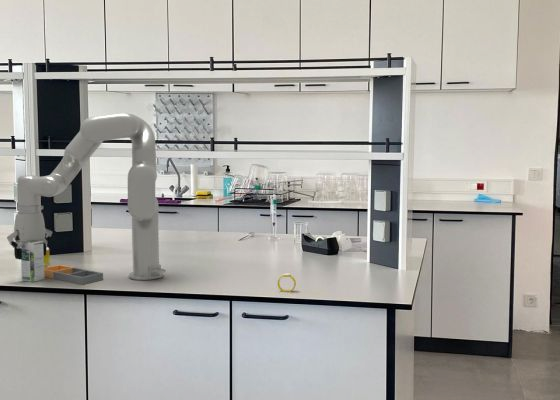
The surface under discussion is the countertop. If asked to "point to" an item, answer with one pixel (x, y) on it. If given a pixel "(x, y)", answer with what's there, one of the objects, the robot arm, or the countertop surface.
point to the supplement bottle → (47, 258)
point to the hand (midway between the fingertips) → (30, 256)
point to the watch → (286, 276)
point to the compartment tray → (72, 274)
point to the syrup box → (32, 261)
